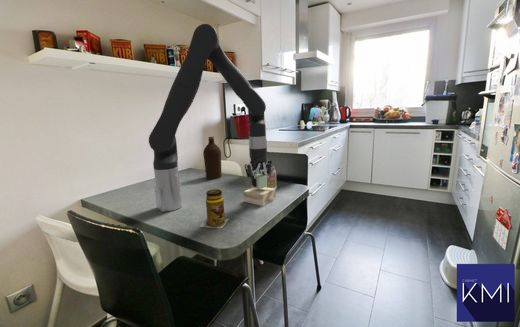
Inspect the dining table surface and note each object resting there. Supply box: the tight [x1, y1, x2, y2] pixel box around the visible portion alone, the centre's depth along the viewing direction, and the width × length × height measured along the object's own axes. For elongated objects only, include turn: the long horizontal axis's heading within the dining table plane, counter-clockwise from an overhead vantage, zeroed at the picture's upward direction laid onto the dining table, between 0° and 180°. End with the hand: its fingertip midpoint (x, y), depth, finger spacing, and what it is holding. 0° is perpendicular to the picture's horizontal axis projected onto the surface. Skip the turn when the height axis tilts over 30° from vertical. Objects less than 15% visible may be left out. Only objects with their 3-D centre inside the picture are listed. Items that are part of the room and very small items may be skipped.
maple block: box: [243, 187, 276, 207], centre depth 109 cm, size 10×10×5 cm
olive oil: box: [202, 136, 223, 180], centre depth 151 cm, size 11×11×25 cm
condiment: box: [198, 188, 229, 229], centre depth 87 cm, size 7×8×12 cm
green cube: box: [250, 173, 267, 189], centre depth 108 cm, size 5×5×5 cm
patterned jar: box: [258, 164, 277, 191], centre depth 122 cm, size 9×8×12 cm
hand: (259, 185), depth 108 cm, fingers closed on green cube, 5 cm apart
